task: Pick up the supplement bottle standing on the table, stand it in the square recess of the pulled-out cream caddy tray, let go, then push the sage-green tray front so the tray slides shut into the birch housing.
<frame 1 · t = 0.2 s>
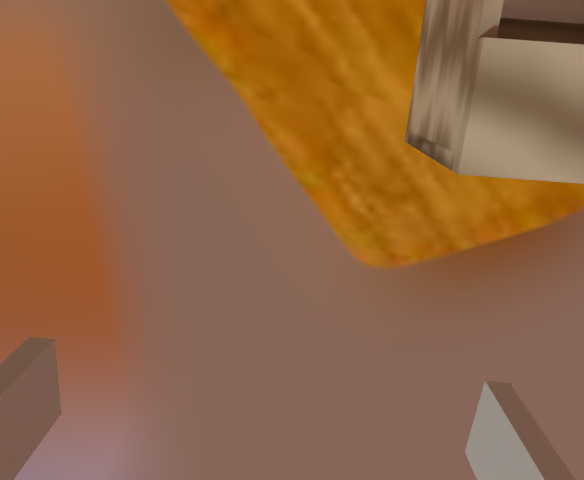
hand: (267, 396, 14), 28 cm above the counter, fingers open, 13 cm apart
housing: (506, 58, 36), on the counter
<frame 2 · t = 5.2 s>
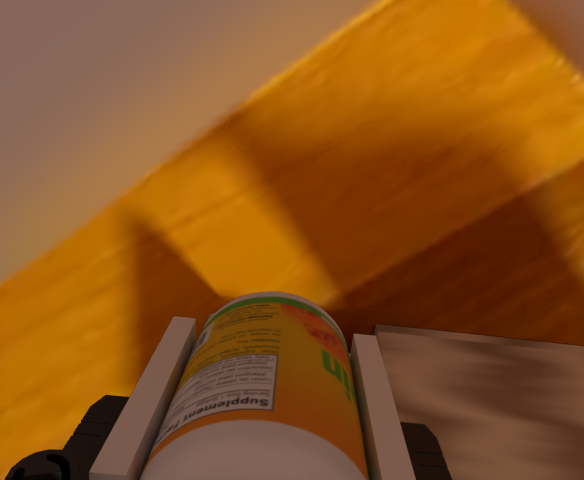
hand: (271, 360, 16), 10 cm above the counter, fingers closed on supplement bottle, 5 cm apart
supplement bottle: (273, 352, 16), point 9 cm above the counter, touching gripper
housing: (469, 433, 29), on the counter
tray: (318, 460, 25), point 3 cm above the counter, slide at 8.0 cm
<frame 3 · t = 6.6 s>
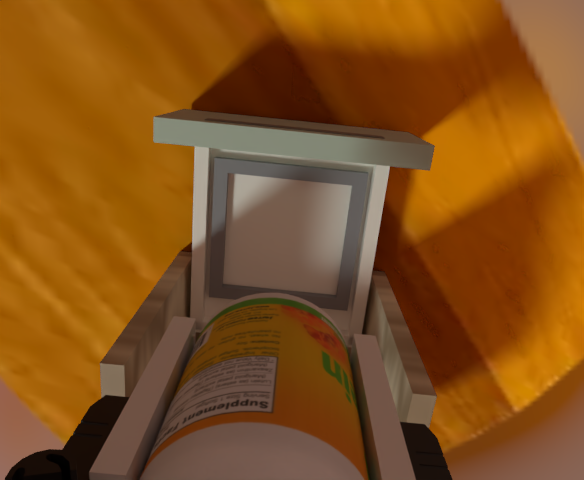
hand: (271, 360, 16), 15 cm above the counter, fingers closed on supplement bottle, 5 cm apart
supplement bottle: (272, 353, 16), point 15 cm above the counter, touching gripper
housing: (273, 349, 34), on the counter
tray: (283, 244, 27), point 3 cm above the counter, slide at 8.0 cm
when the fingers open (3 cm above the counter, at t = 8.6 s): supplement bottle drops 1 cm, resting on tray.
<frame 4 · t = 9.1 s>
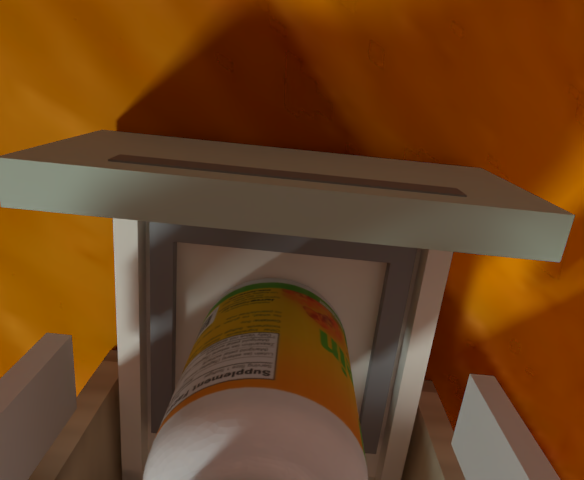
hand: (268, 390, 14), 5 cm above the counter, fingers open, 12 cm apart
supplement bottle: (274, 336, 17), point 2 cm above the counter, touching tray
tray: (271, 362, 16), point 3 cm above the counter, slide at 8.0 cm, touching supplement bottle
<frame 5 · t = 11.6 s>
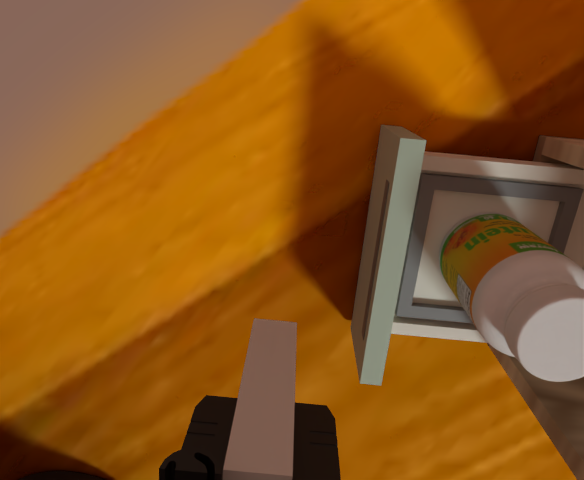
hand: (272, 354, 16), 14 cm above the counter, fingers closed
supplement bottle: (480, 252, 28), point 2 cm above the counter, touching tray
tray: (491, 262, 26), point 3 cm above the counter, slide at 8.0 cm, touching supplement bottle
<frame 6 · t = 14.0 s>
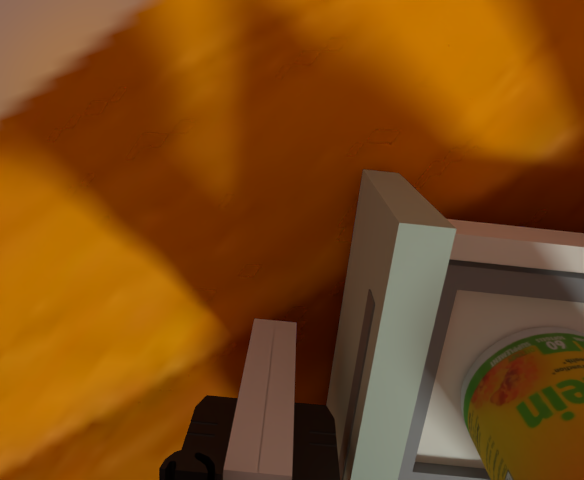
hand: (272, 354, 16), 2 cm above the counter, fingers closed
supplement bottle: (531, 385, 16), point 2 cm above the counter, touching tray
tray: (556, 419, 15), point 3 cm above the counter, slide at 7.9 cm, touching supplement bottle, gripper
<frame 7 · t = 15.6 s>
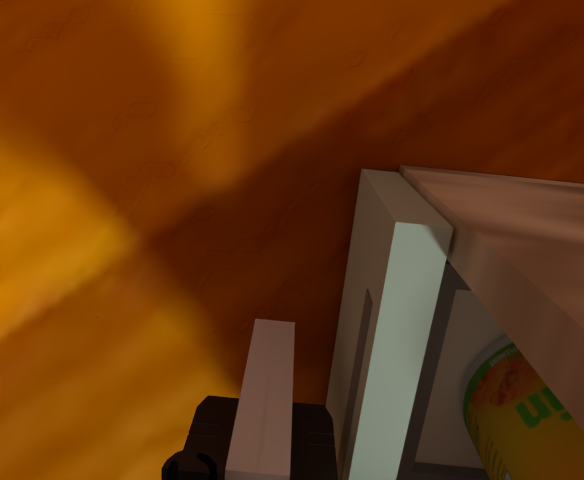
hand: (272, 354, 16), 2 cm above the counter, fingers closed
supplement bottle: (531, 385, 16), point 2 cm above the counter, touching tray
housing: (546, 361, 18), on the counter
tray: (556, 419, 15), point 3 cm above the counter, slide at -0.1 cm, touching supplement bottle, gripper
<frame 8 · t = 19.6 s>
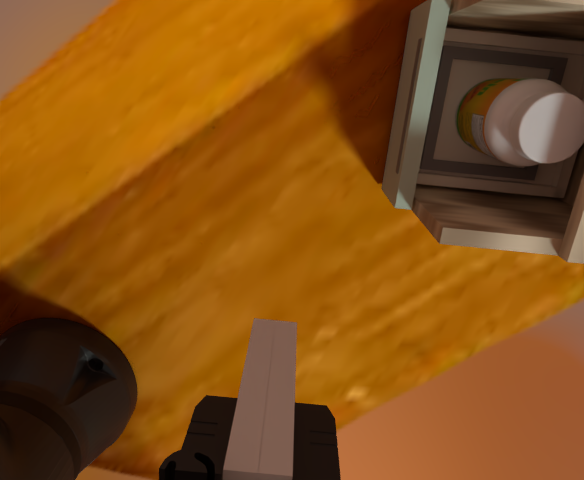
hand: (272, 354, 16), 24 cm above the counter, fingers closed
supplement bottle: (488, 115, 35), point 2 cm above the counter, touching tray
housing: (498, 115, 37), on the counter
tray: (496, 117, 34), point 3 cm above the counter, slide at 0.0 cm, touching supplement bottle
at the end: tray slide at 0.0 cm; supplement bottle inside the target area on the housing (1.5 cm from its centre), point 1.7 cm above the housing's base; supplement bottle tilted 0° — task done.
